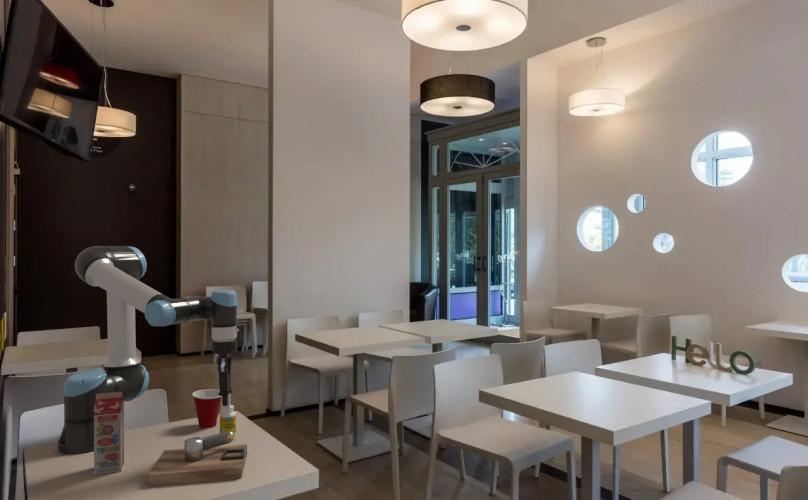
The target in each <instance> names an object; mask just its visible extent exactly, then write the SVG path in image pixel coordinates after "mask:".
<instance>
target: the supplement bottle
mask: <svg viewBox="0 0 808 500" xmlns="http://www.w3.org/2000/svg"><path fill="white" fill-rule="evenodd" d="M234 408H235V407H234V404H230V416H221V413H220V414H219V433H223V432H226V431H231V432H233V433H234V435H235V436H236V434H237V414H236V412H235V411H234V410H235V409H234Z"/></svg>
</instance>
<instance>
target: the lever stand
mask: <svg viewBox="0 0 808 500" xmlns="http://www.w3.org/2000/svg"><path fill="white" fill-rule="evenodd" d="M247 455H248V443H241V444H229V445H227V444H226V445H221V446H218V447H214V448H211V449H207V450H203V458H201V459H199V460H195V461H187V460H185V452H184V448H177V449H164V450H163V452H162V453H161V454H160V456H159V457H158V459H157V461H156V462H155V464H154V465H153V466H152V468H151V470H150V471H149V472H148V474H147V486H148V487H153V486H163V485H175V484H176V485H177V484H187V483H199V482H201V483H202V482H208V481H209V482H211V481H213V482H214V481H222V480H233V479H242V477H243V474H244V469H245V466H246V465H245V464H246V460H247V457H248V456H247Z"/></svg>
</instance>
